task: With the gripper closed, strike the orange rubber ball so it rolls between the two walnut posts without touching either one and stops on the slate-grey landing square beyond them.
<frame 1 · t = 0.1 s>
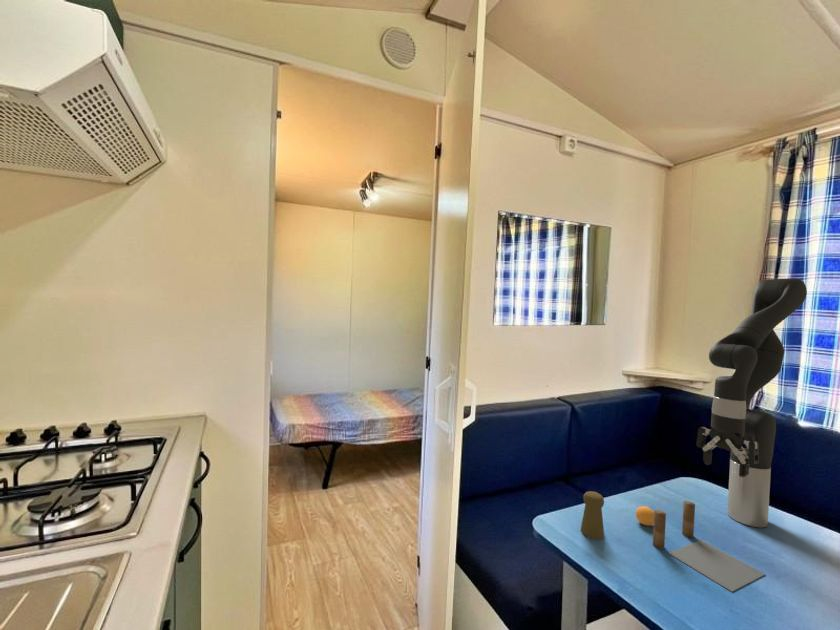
hand: (724, 470, 107), 17 cm above the table, tool pointing down, fingers open, 8 cm apart
brown pawn: (592, 533, 105), on the table
ball: (645, 515, 109), on the table
post 1: (658, 545, 99), on the table
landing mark: (714, 563, 93), on the table
post 2: (687, 534, 105), on the table
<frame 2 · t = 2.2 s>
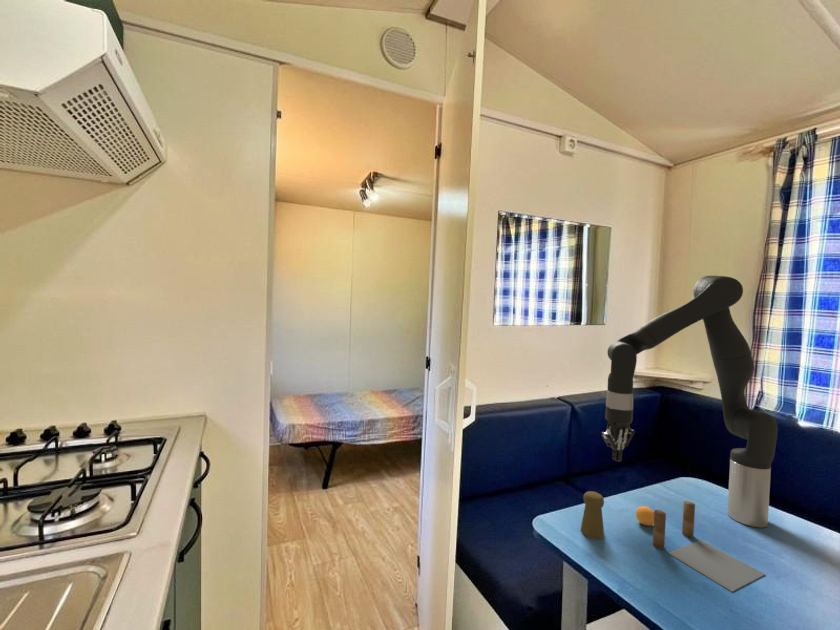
hand: (616, 460, 118), 15 cm above the table, tool pointing down, fingers closed
nothing on the table moved.
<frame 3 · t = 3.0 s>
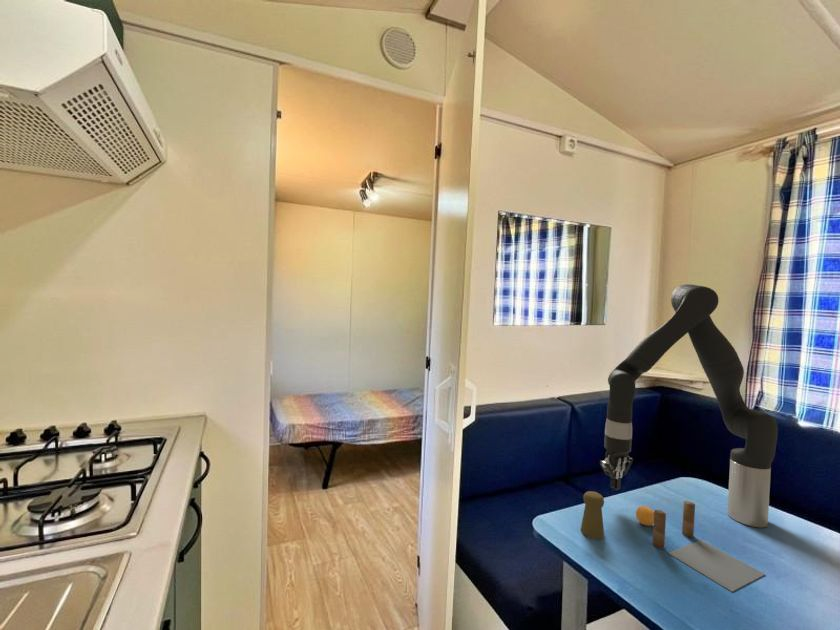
hand: (615, 488, 118), 6 cm above the table, tool pointing down, fingers closed
nothing on the table moved.
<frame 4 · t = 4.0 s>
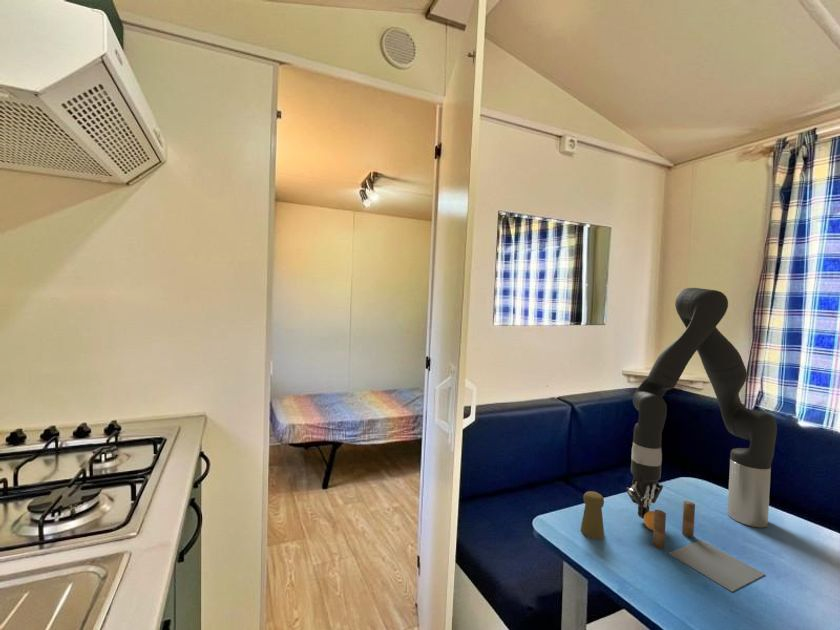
hand: (643, 517, 110), 1 cm above the table, tool pointing down, fingers closed
ball: (653, 520, 107), on the table, touching gripper
everything else where it was.
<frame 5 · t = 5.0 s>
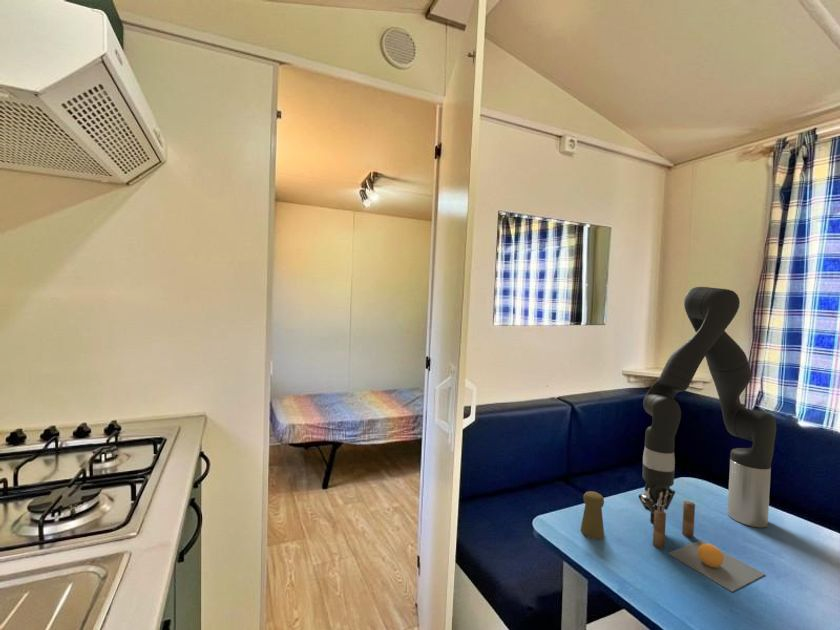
hand: (655, 524, 107), 1 cm above the table, tool pointing down, fingers closed
ball: (710, 555, 92), on the table
everything else where it was.
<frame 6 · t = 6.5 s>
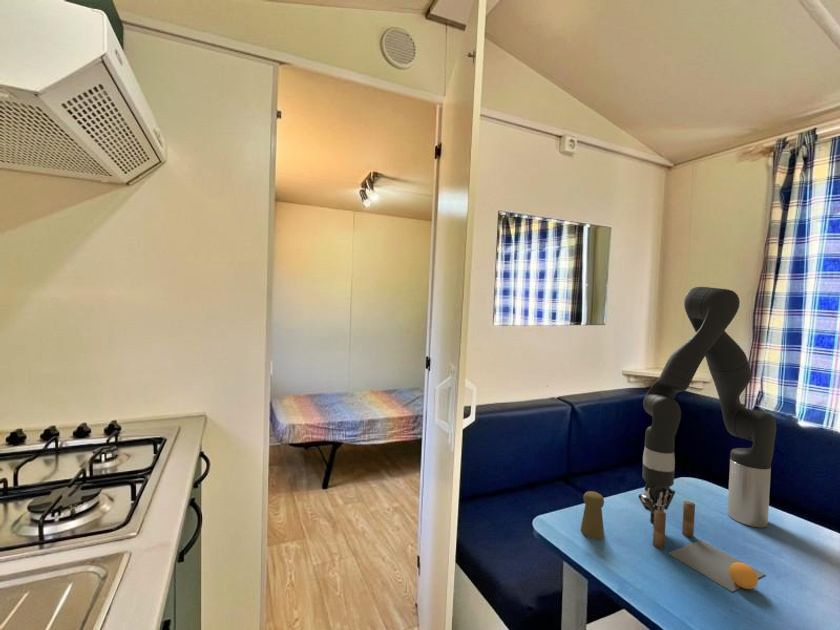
hand: (655, 524, 107), 1 cm above the table, tool pointing down, fingers closed
ball: (743, 575, 86), on the table
everything else where it was.
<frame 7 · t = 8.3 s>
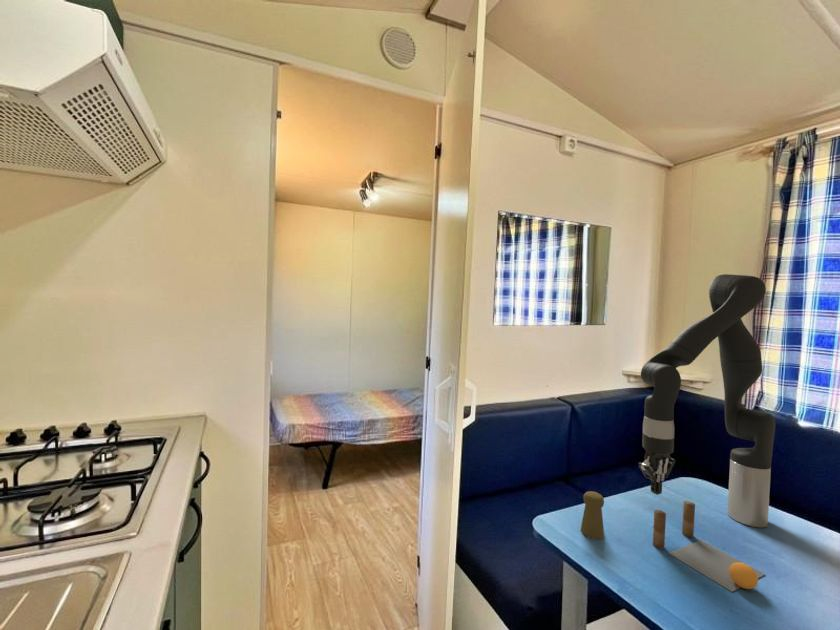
hand: (656, 492, 107), 10 cm above the table, tool pointing down, fingers closed
nothing on the table moved.
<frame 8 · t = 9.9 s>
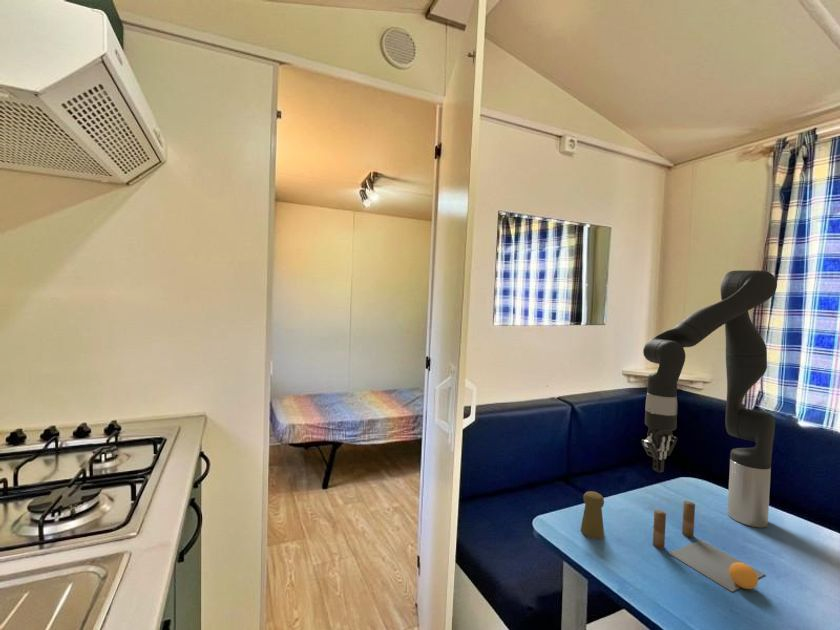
hand: (658, 470, 106), 17 cm above the table, tool pointing down, fingers closed
nothing on the table moved.
at the end: ball 7.4 cm from the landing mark (horizontally); ball never touched post 2; ball never touched post 1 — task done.
